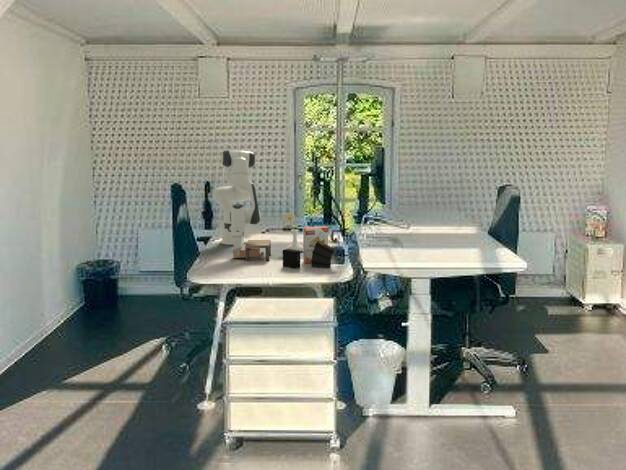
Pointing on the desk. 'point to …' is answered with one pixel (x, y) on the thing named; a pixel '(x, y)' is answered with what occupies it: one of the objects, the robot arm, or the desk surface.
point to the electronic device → (291, 258)
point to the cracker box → (313, 240)
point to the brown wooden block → (252, 253)
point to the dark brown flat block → (322, 255)
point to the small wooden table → (258, 244)
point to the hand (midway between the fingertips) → (239, 253)
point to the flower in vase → (294, 245)
